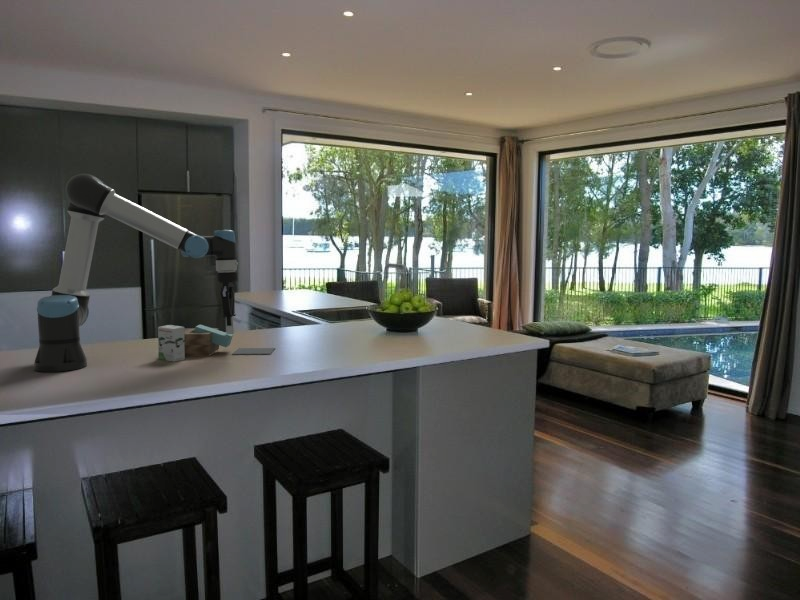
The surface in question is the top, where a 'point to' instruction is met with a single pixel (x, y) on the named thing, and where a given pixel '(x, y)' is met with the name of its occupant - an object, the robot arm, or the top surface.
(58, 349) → the robot arm
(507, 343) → the top surface
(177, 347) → the ink box
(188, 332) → the block
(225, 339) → the slab
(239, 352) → the mat
